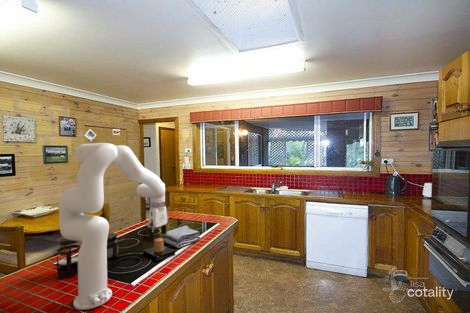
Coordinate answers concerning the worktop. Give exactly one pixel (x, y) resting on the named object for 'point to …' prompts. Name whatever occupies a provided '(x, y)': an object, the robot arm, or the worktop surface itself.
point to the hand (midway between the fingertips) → (158, 236)
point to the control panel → (158, 253)
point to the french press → (67, 259)
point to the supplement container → (112, 246)
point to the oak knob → (158, 245)
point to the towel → (181, 236)
